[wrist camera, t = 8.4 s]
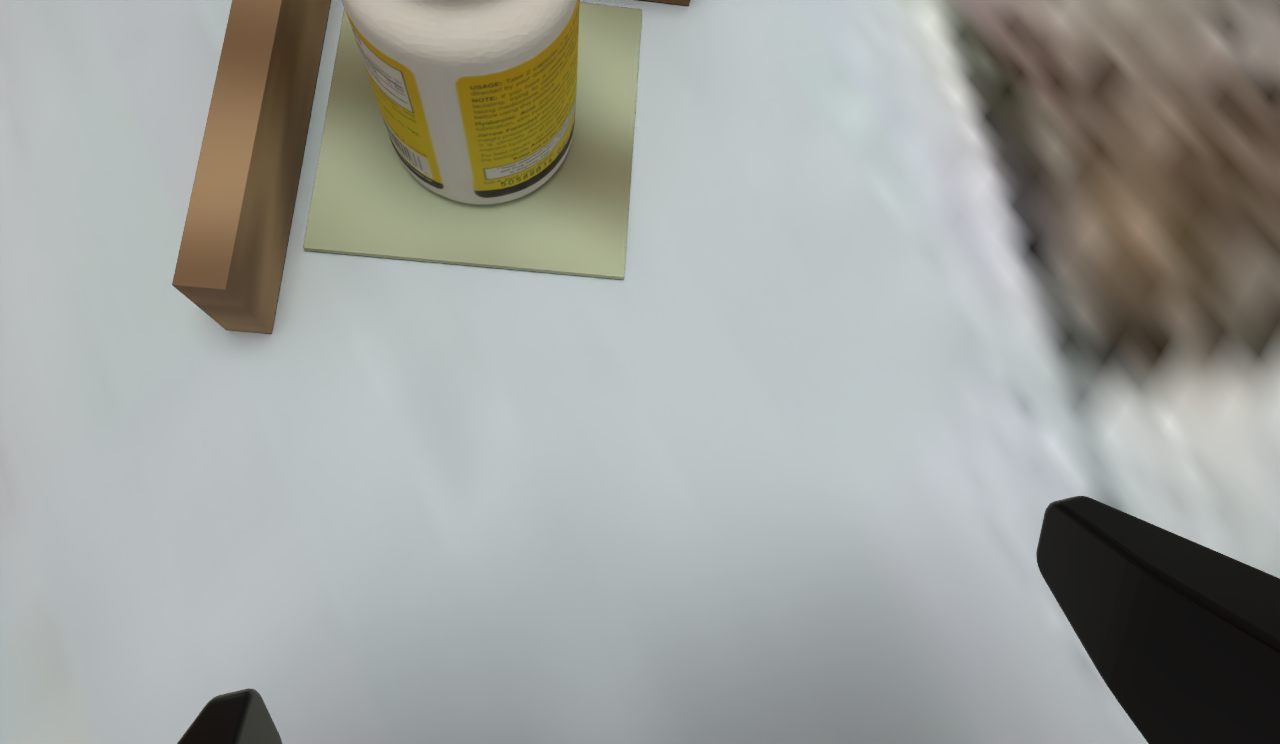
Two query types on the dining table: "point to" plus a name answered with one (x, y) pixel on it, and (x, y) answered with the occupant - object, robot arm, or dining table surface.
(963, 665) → the dining table surface
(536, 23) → the supplement bottle
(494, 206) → the wooden corner bracket
